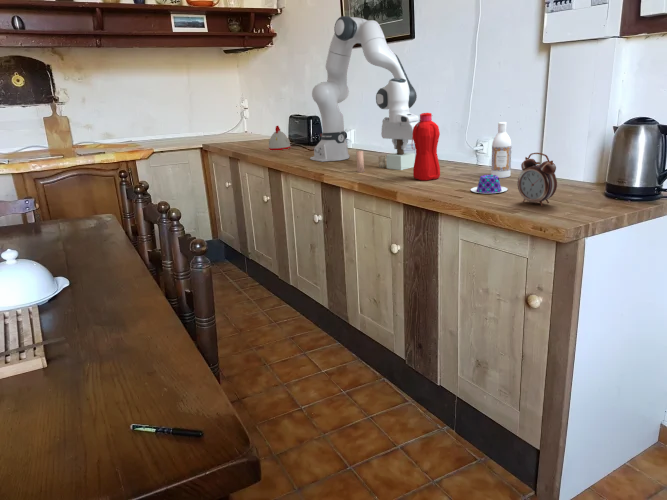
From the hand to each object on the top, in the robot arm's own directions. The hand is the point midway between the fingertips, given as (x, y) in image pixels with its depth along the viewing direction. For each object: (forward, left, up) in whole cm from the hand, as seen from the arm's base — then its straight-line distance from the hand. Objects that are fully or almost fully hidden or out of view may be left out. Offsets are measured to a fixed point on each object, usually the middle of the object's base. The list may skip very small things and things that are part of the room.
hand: (400, 149), depth 228 cm
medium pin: (-8, -16, -8) cm, 20 cm away
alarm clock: (+83, -28, -8) cm, 88 cm away
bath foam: (+50, +3, -8) cm, 50 cm away
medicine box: (-6, +11, -8) cm, 15 cm away
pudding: (+61, -20, -9) cm, 64 cm away
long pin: (0, 0, -7) cm, 7 cm away
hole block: (0, 0, -8) cm, 8 cm away
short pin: (-8, -3, -8) cm, 12 cm away
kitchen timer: (-122, +15, -8) cm, 124 cm away
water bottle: (+28, -15, -8) cm, 32 cm away
